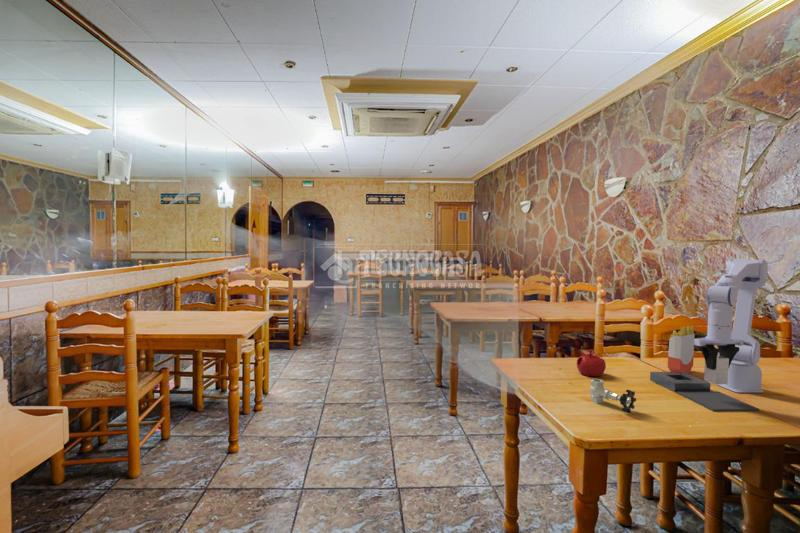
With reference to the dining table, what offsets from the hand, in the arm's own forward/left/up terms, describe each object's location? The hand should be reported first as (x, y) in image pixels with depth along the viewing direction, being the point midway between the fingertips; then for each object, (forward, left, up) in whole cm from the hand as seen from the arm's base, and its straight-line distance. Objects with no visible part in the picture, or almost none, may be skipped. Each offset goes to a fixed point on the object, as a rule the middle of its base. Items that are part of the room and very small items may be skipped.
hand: (717, 368), depth 120 cm
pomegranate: (+25, -27, -11) cm, 38 cm away
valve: (+35, +2, -11) cm, 37 cm away
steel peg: (0, -1, -4) cm, 4 cm away
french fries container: (-11, -29, -10) cm, 33 cm away
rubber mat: (0, 0, -10) cm, 10 cm away
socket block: (+1, -14, -10) cm, 17 cm away
